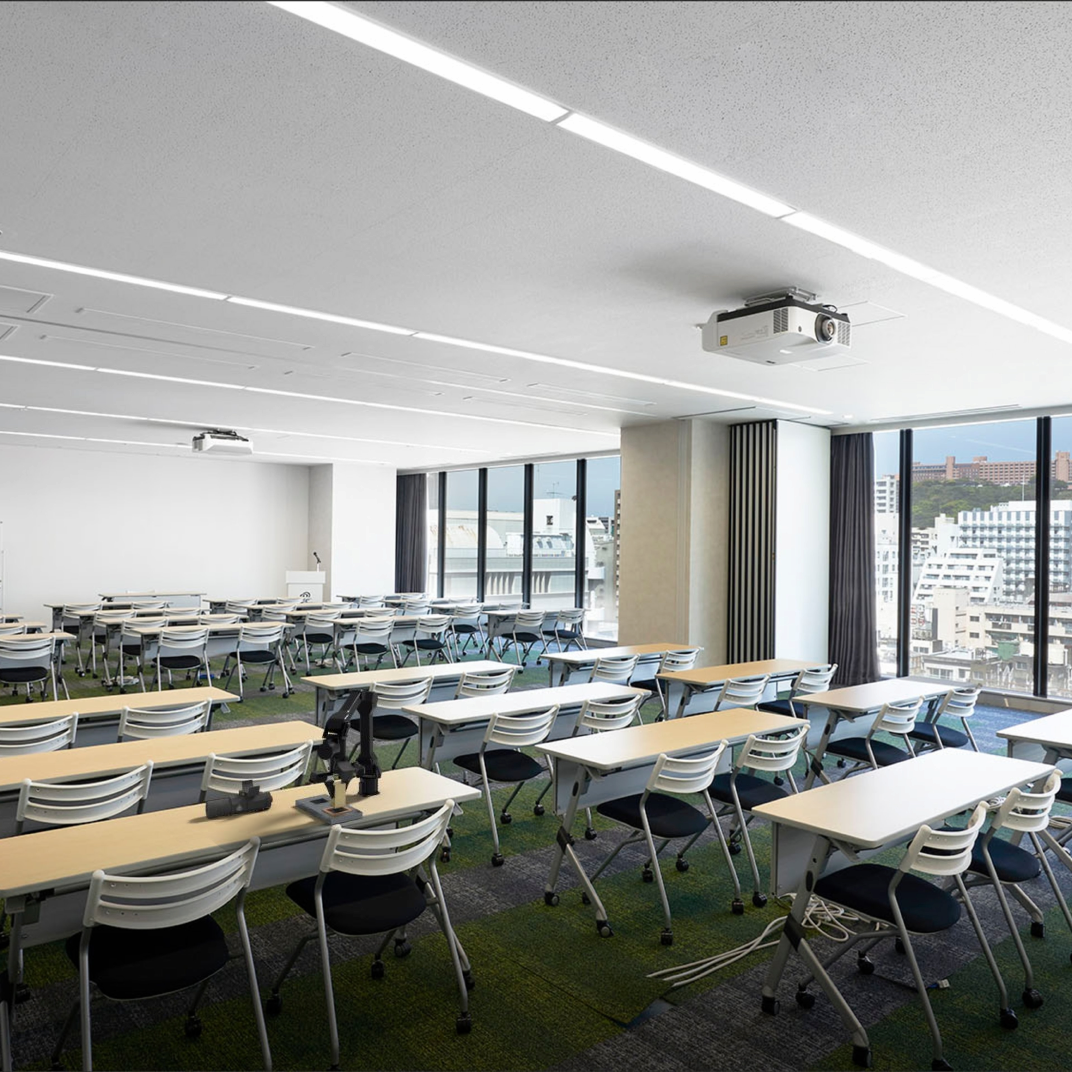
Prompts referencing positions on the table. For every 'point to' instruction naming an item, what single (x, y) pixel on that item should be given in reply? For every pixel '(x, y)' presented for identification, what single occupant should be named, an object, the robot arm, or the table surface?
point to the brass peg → (338, 795)
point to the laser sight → (240, 801)
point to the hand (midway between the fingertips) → (337, 797)
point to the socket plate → (328, 809)
